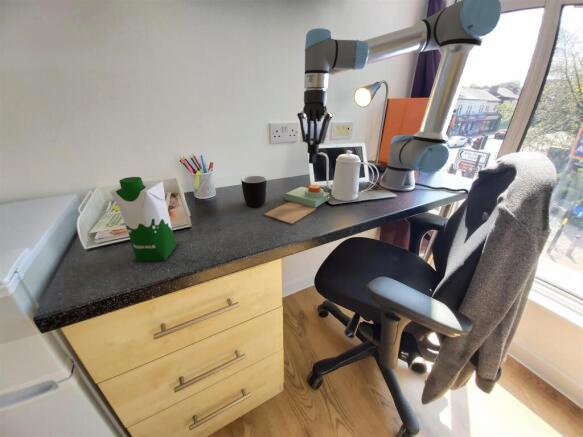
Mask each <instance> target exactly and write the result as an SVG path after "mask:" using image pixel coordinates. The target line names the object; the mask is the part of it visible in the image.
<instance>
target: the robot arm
mask: <svg viewBox="0 0 583 437" xmlns="http://www.w3.org/2000/svg"><path fill="white" fill-rule="evenodd" d="M501 15H502V3H501V1H500V0H459V1H456V2H454V3H453V4H450V5H449V6H446V7H445V8H443V9H441V10H439V11H438V12H435V13H433V14H431V15H430V16H428V17H426V18H424V19H420V20H417V21H416V22H415V23H414V24H413V25H411V26H409V27H405V28H401V29H398V30H394V31H390V32H388V33H385V34H381V35H378V36H374V37H371V38H368V39H365V40H359V39H335V38H332V33H331V30H330V29H327V28H323V27H322V28H320V27H318V28H317V27H316V28H312V29H310V30H308V31H307V32H306V35H305V45H304V82H303V83H304V84H303V88H304V89H305V90H304V91H303V103H304V106H303V108H302V111H300V112H297V114H296V116H297V118H298V120H299V125H300V131H301V138H302V142H303V143H306V144H307V149H306V150H307V154H308V164H311V165H313V164H315V163H317V155H319V154H318V153H319V152H320V151H319V149H320V144H323V143H325V140H326V136H327V133H328V129H329V126H330V122H331V120H332V118H333V117H334V115H333V113H330V112H329V111H328V108H327V101H328V100H327V99H328V91H327V90H328V85H329V75H330V76H335V75H338V74H340V73H343V72H348V71H350V70H351V71H352V70H353V71H357V70H363V69H364V68H365V67H366V66H367V65H370V64H374V63H377V62H381V61H384V60H387V59H391V58H394V57H398V56H401V55H405V54H408V53H410V52H411V53H412V52H413V53H415V54H419V53H423V52H427V51H428V52H429V51H434V50H438V52H439V53H440V55H441V57H440V61H439V64H438V67H437V71H436V74H435V77H434V81H433V84H432V86H431V91H430V94H429V97H428V101H427V104H426V107H425V111H424V114H423V117H422V121H421V124H420V126H419V130H418V131H417V132H415V133H414V134H406V135H405V134H404V135H403V134H401V135H394V136H393V137H392V138H391V141H390V143H389V146H390V147H389V152H388V158H387V162H386V168H385V170H384V173H383V174H382V175H381V176H380V177H381V178H380V180H379V187H381V188H383V189H386V190H390V191H394V192H410V191H413V190H415V186H418V187H424V188H426V189H430V190H437V191H438V190H444V191H449V192H454V193H456V192H465V193H466V194H469V193H468V191H469V190H468V189H467V188H457V189H454V188H449V187H446V186H445V187H444V186H437V187H436V186H431V185H428V184H423V183H420V182H416V180H415V172H416V173H418V174H422V175H433V174H436V173H437V172H439V171H440V170H442V169H443V168H444V167H445V166H446V164H447V163H448V161H449V159H450V155H451V154H450V153H451V151H449V150H450V149H449V147H448V146H447V143H448V140H449V137H448V136H447V135H446V132H447V129H448V126H449V123H450V121H451V117H452V115H453V111H454V109H455V105H456V102H457V100H458V97H459V94H460V92H461V88H462V85H463V82H464V79H465V77H466V73H467V71H468V68H469V65H470V62H471V59H472V57H473V55H474V54H475V53H477V52H478V51H479V50H480V49H481V47H482V43H483V41H484V38H486V37H488V36H489V35H491V33H492V32H494V31H495V29H496V28H497V26H498V24H499V23H500V20H501ZM322 119H323V120H322Z"/></svg>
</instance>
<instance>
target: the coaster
mask: <svg viewBox="0 0 583 437" xmlns="http://www.w3.org/2000/svg"><path fill="white" fill-rule="evenodd" d="M316 210H317V207H316V208H314V207H310V206H307V205H303V204H299V203H296V202H292V201H289V200H288V201H287V202H285V203H283V204H281V205H279V206H277V207H275V208H273V209H270V210H269V211H267V212H264V213H263V215H264V216H266V217H269V218H272V219H275V220H277V221H281V222H283V223H286V224H290V225H294V224H295V223H297V222H298V221H300V220H301V219H303V218H305V217H306V216H308V215H309V214H311V213H312V212H315V211H316Z"/></svg>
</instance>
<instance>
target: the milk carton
mask: <svg viewBox="0 0 583 437" xmlns="http://www.w3.org/2000/svg"><path fill="white" fill-rule="evenodd" d="M118 183H119V185H120V186H118V187H116V188H114V189H112V190H110V195H111V196H112V198H113V200H114V201H115V203H116V204H117V206H118V208H119V211H120V215H121V217H122V220H123V223H124V226H125V228H126V232H127V235H128V238H129V240H130V244H131V248H132V251H133V254H134V258H135V261H136V262H144V261H146V262H150V261H152V262H153V261H155V262H156V261H166V260H167V259H168V257H169V256H170V255H171V253H172V252H173V251H174V249H175V248H176V247H177V245H178V243H177V241H176V237H175V234H174V231H173V227H172V222H171V217H170V214H169V209H168V205H167V201H166V197H165V196H166V194H165V186H164V180H143V179H142V177H140V176H129V177H124V178H121V179H119V182H118Z"/></svg>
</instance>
